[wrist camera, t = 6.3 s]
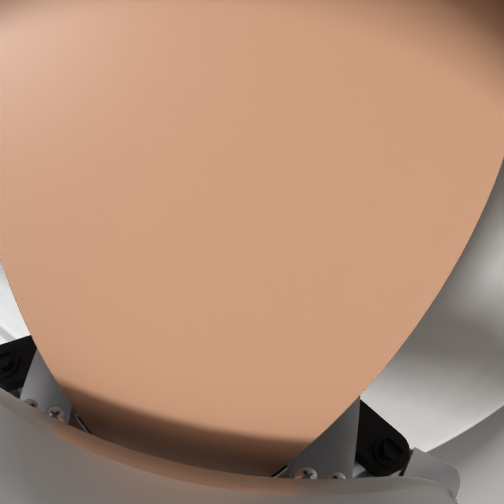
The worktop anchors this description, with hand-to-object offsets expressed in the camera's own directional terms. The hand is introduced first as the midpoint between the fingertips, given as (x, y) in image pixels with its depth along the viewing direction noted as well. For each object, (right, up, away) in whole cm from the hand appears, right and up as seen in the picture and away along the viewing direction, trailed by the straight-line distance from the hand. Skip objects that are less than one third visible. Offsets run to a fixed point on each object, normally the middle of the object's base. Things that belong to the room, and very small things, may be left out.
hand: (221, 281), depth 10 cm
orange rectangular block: (+1, +7, -3) cm, 8 cm away
